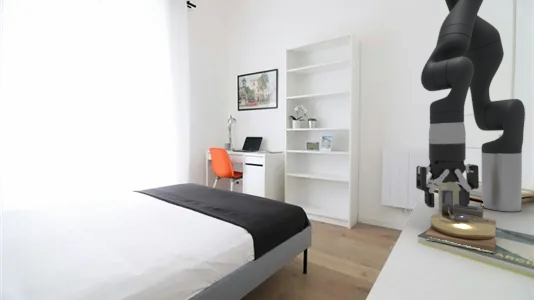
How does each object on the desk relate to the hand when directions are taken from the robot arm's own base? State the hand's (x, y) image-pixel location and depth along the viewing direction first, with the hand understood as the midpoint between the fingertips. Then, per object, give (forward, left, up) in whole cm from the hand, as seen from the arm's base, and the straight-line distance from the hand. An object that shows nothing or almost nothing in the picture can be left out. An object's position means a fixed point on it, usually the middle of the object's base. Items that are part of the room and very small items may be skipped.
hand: (446, 206), depth 65 cm
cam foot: (+3, +4, -4) cm, 6 cm away
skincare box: (-14, -5, -6) cm, 16 cm away
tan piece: (0, +3, -6) cm, 7 cm away
